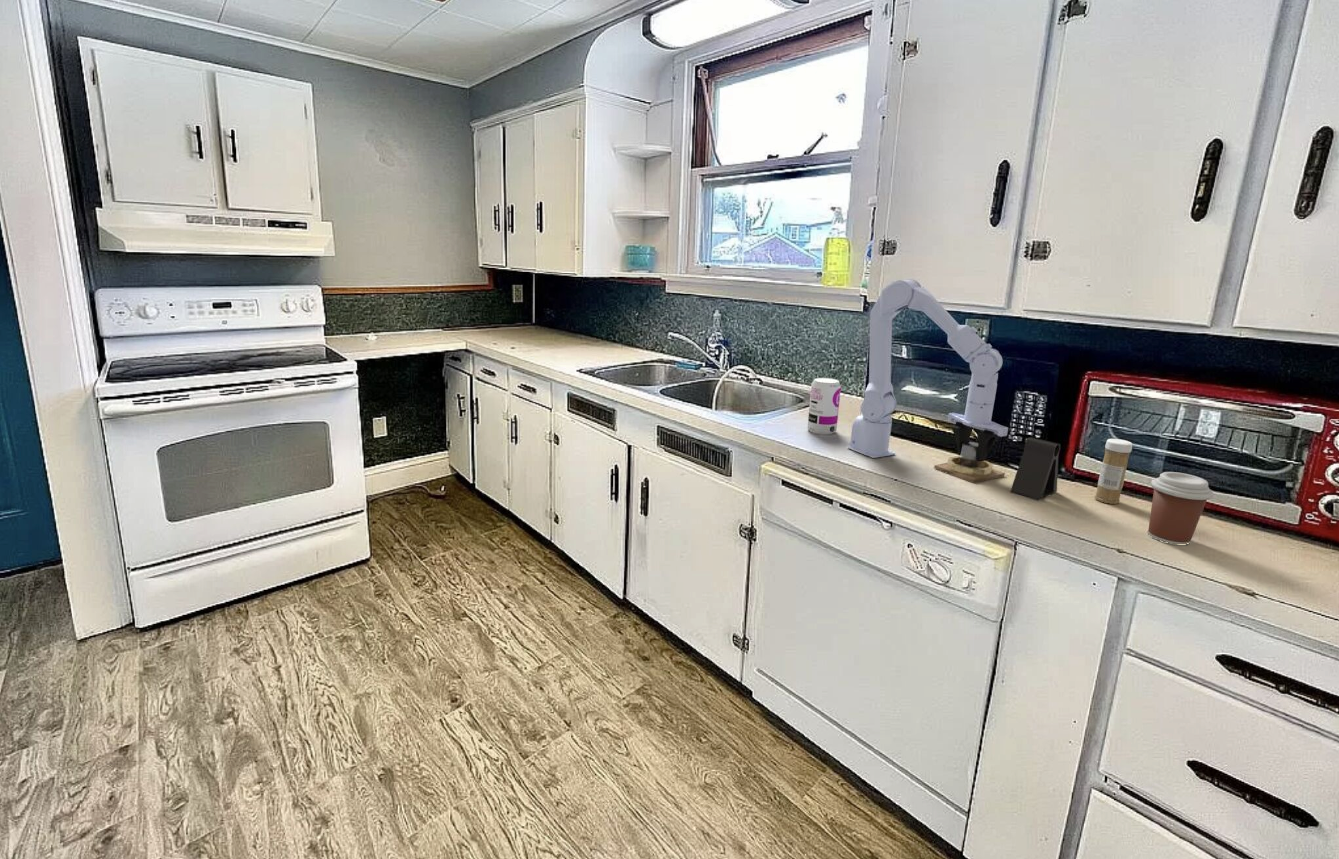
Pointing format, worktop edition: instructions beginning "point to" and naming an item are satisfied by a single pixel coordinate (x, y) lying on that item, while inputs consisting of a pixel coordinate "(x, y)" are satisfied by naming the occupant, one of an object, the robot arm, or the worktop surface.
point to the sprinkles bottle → (1113, 470)
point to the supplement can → (824, 406)
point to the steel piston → (969, 455)
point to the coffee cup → (1177, 506)
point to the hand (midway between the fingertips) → (971, 457)
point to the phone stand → (1037, 469)
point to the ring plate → (969, 478)
